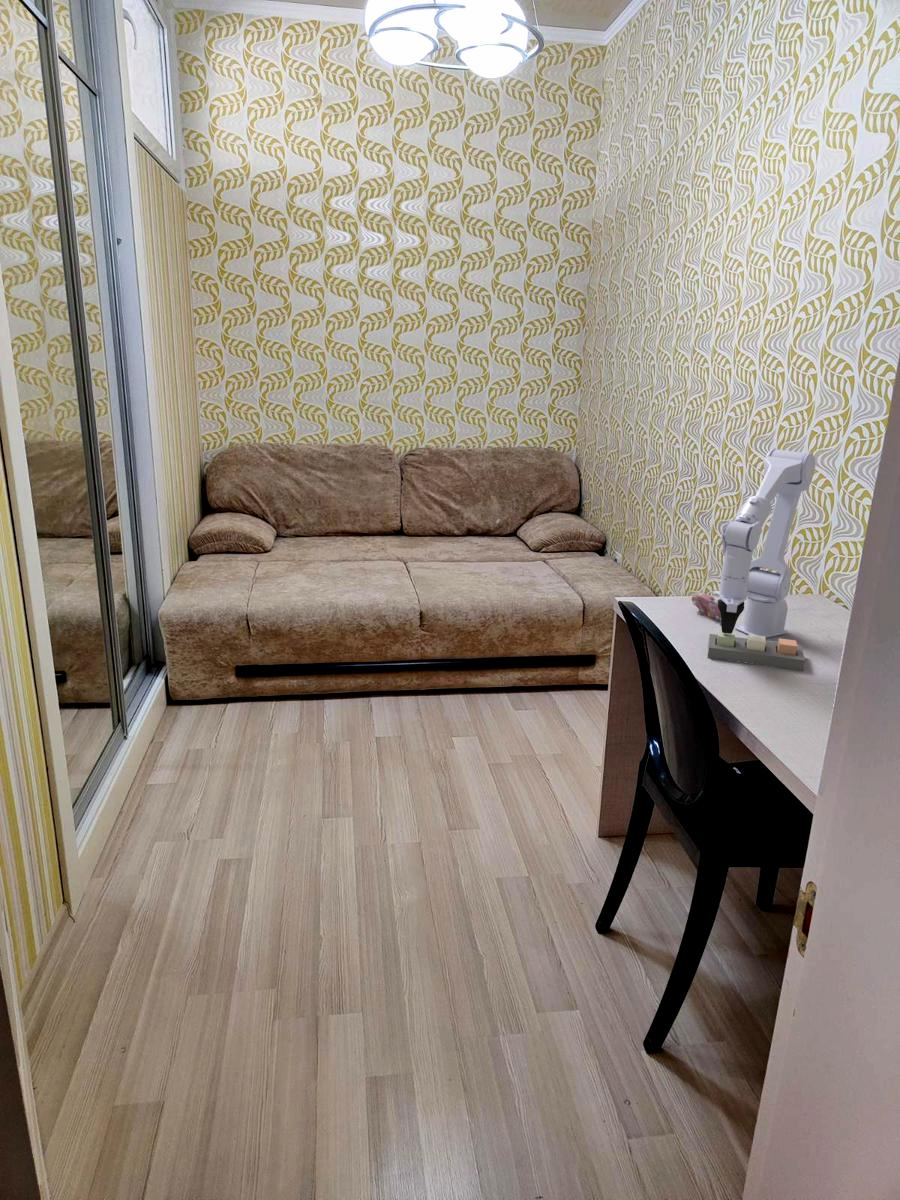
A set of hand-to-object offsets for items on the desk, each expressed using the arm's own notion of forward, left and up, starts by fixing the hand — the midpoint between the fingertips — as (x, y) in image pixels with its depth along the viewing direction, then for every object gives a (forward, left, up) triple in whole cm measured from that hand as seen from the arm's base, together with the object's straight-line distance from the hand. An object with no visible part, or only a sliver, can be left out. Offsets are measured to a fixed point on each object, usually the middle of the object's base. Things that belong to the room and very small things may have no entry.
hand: (726, 632), depth 181 cm
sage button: (0, 0, -3) cm, 3 cm away
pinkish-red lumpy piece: (-15, -20, -5) cm, 26 cm away
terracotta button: (-9, +9, -4) cm, 13 cm away
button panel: (-5, +5, -5) cm, 8 cm away
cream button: (-5, +5, -3) cm, 7 cm away
